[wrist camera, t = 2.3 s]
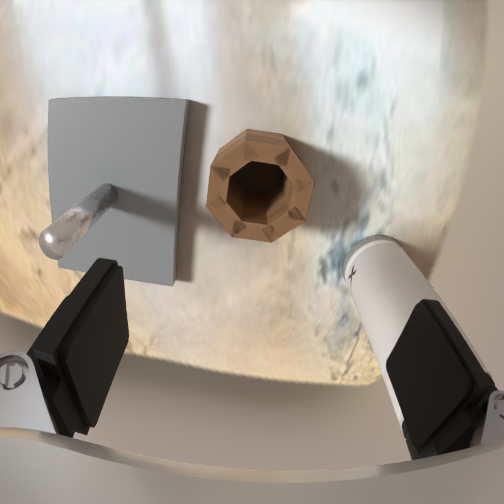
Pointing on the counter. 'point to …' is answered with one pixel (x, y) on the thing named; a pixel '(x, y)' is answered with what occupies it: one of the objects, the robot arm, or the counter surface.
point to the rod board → (121, 179)
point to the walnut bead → (252, 205)
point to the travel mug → (390, 303)
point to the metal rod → (77, 221)
